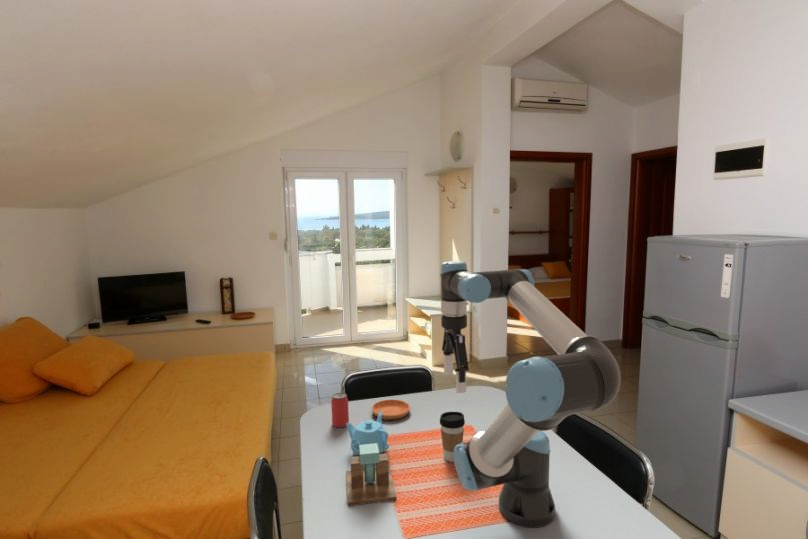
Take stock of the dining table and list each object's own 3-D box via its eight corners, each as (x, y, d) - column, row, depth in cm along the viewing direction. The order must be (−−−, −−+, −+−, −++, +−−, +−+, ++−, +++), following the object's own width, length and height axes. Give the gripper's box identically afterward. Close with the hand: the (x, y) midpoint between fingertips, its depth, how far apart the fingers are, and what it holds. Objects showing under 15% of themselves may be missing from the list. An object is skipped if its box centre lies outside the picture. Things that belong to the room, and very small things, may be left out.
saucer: (392, 402, 198) (392, 395, 198) (418, 413, 186) (417, 406, 186) (364, 413, 187) (363, 406, 187) (389, 426, 176) (388, 419, 175)
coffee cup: (464, 465, 147) (463, 421, 145) (438, 462, 149) (438, 419, 147) (465, 451, 155) (465, 410, 153) (441, 449, 157) (441, 409, 155)
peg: (380, 484, 134) (379, 452, 133) (361, 486, 133) (360, 454, 132) (378, 473, 140) (377, 443, 138) (360, 475, 139) (359, 444, 138)
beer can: (352, 422, 179) (351, 394, 177) (341, 429, 173) (340, 400, 172) (339, 419, 182) (338, 390, 181) (328, 425, 177) (327, 396, 175)
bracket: (396, 499, 130) (395, 470, 129) (348, 505, 128) (347, 476, 127) (389, 469, 146) (388, 443, 145) (346, 473, 144) (345, 447, 142)
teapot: (346, 444, 162) (344, 415, 160) (383, 439, 165) (382, 409, 164) (352, 467, 147) (351, 435, 146) (393, 460, 151) (392, 429, 149)
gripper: (480, 323, 120) (480, 399, 122) (454, 304, 144) (455, 368, 147) (453, 324, 119) (453, 401, 121) (432, 306, 143) (432, 370, 146)
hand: (454, 383), depth 134 cm, fingers open, 13 cm apart
